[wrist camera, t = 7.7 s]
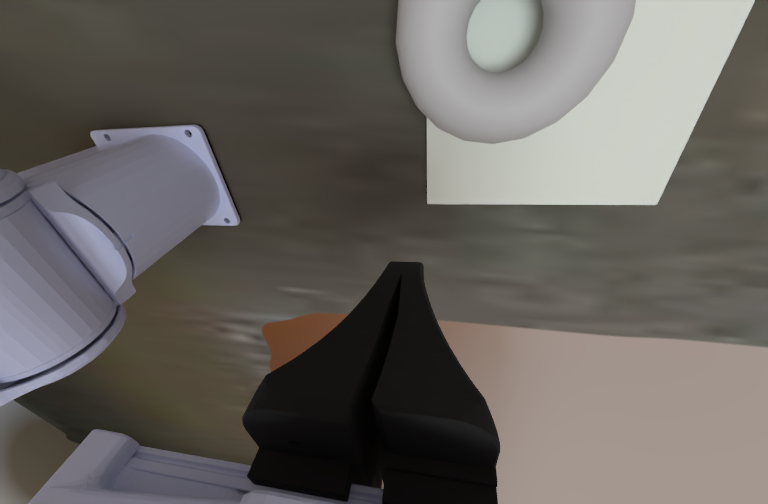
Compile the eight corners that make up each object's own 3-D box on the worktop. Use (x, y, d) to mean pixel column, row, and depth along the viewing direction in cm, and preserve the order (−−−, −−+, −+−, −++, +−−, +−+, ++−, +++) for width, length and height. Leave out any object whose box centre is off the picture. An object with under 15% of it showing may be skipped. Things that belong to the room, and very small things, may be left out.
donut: (405, 137, 19) (583, 130, 17) (396, 155, 16) (606, 149, 14) (394, -98, 13) (660, -153, 11) (377, -129, 11) (725, -209, 9)
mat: (427, 201, 22) (427, 204, 21) (425, -238, 11) (425, -246, 11) (653, 201, 19) (656, 204, 19) (924, -374, 9) (942, -390, 8)
